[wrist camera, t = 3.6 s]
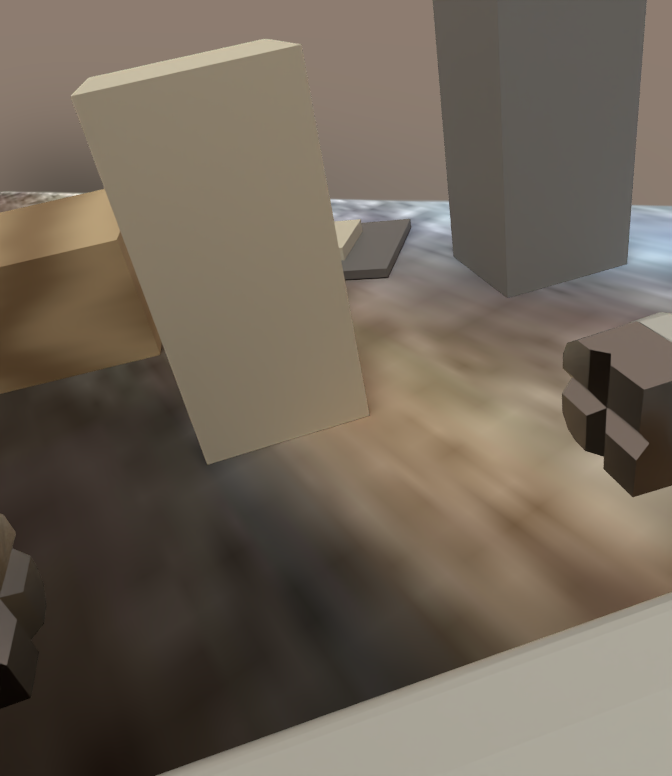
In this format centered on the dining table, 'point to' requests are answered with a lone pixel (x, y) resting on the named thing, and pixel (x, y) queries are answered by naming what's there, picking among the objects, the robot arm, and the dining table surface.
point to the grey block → (539, 134)
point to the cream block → (231, 238)
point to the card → (370, 246)
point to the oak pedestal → (68, 293)
